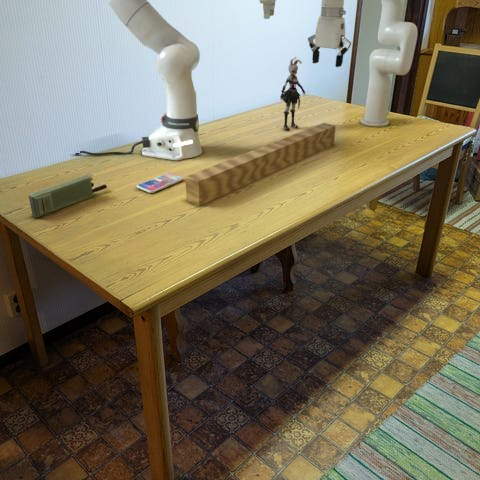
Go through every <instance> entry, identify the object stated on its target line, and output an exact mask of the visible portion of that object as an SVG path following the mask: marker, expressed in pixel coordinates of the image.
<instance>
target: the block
mask: <svg viewBox="0 0 480 480" xmlns="http://www.w3.org/2000/svg"><path fill="white" fill-rule="evenodd" d="M335 136H336V125H334V124H330V123H326V122H322V123H320V124H317V125H314V126H312V127H310V128H307V129H305V130H304V129H303V130H302V131H299V132H297V133H294V134H291V135H289V136H287V137H284V138H281V139H279V140H276V141H274V142H270V143H269V144H265V145H263V146H261V147H259V148H255V149H253V150H250V151H248V152H245V153H243V154H240V155H238V156H235V157H232V158H230V159H228V160H227V159H226V160H225V161H224V160H223V161H222V162H220V163H217V164H214V165H212V166H209V167H207V168H204V169H201V170H199V171H196V172H194V173H191V174H189V175H186V176H184V179H185V198H186V202H188V203H190V204H193V205H196V206H198V207H200V206H203V205H205V204H207V203H209V202H212V201H214V200H216V199H218V198H220V197H222V196H225V195H227V194H229V193H231V192H234V191H236V190H238V189H241V188H242V187H244V186H247V185H248V184H249V185H250V184H251V183H253V182H255V181H256V182H257V180H260V179H262V178H264V177H266V176H269V175H271V174H274V173H276V172H278V171H280V170H282V169H284V168H286V167H288V166H291V165H293V164H295V163H297V162H299V161H302V160H304V159H306V158H308V157H310V156H313V155H315V154H317V153H319V152H322V151H324V150H326V149H329V148H330V147H332V146H334V145H335V138H336V137H335Z"/></svg>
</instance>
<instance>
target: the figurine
mask: <svg viewBox="0 0 480 480" xmlns="http://www.w3.org/2000/svg"><path fill="white" fill-rule="evenodd" d="M293 61H294V62H293ZM298 63H299V64H301V65H302V64H303V62H302V61H301V60H300V59H298V58H297V56H295V57H294V58H292V59H290V60H289V65H288V68H287V69H288V72H289V75H288V76H287V78H286V79H285V82H284V84H283V86H282V88H281V91H280V92H281V93H280V96H279V99H280V101H281V102H282V101H283V102H284V103H285V110H284V111H283V114H284V124H283V130H285V131H287V132H288V131H290V127H291V128H293V129H298V127H299V126H298V125H297V124H295V113H296V106H298V107H297V109H298V110H299V109H300V106H301V97H300V96H301V93H299V92H298V88H299V89H300V90H301V92H302V95H306V91H305V89H304V88H303V85H301V83H300V82H299V79H298V76H297V74H298V69H299V66H298ZM287 85H289V87H288V88H286V87H287ZM297 86H298V88H297ZM286 89H287V90H286ZM296 104H297V105H296ZM290 108H291V109H290ZM290 113H291V123H290V127H289V126H288V117H289V115H290Z"/></svg>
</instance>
